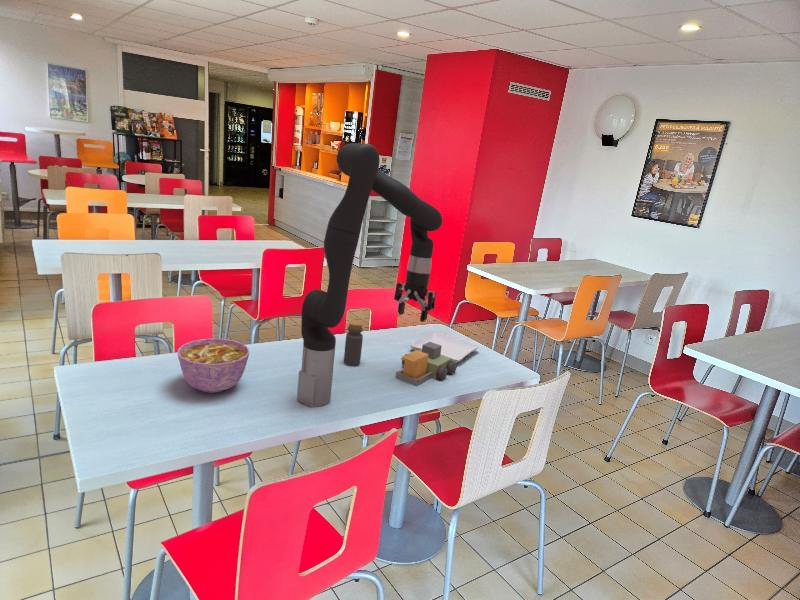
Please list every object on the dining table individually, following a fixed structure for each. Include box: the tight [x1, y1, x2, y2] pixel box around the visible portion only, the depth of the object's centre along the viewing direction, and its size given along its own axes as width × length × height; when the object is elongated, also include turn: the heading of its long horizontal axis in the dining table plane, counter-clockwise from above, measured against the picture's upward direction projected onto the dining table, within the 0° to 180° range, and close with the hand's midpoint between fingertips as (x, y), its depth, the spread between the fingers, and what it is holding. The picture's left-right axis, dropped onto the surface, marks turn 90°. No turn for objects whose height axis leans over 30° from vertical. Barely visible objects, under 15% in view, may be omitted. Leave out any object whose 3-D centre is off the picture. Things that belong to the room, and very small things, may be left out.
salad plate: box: [409, 331, 479, 364], centre depth 209 cm, size 21×21×3 cm
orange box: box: [400, 350, 429, 379], centre depth 180 cm, size 10×5×8 cm, turn 146°
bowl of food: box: [177, 338, 251, 394], centre depth 157 cm, size 20×20×12 cm
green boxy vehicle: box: [395, 342, 458, 387], centre depth 186 cm, size 20×16×9 cm
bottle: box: [343, 320, 364, 367], centre depth 186 cm, size 6×6×15 cm
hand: (411, 317), depth 175 cm, fingers open, 8 cm apart
